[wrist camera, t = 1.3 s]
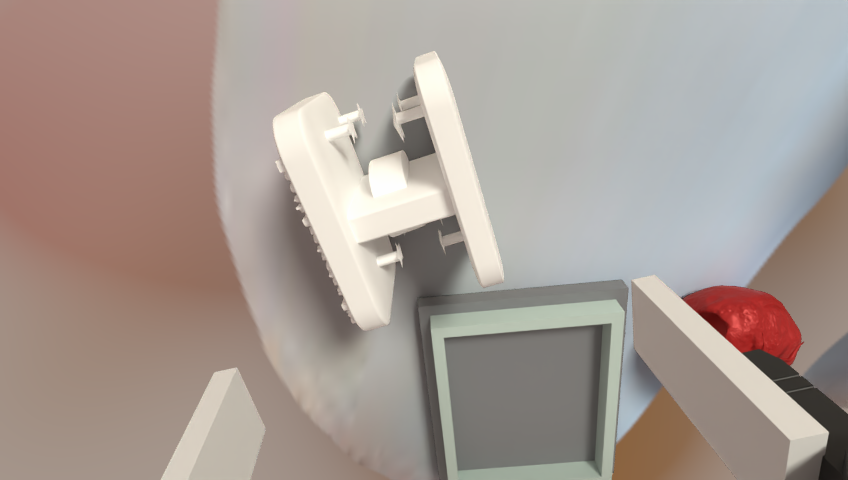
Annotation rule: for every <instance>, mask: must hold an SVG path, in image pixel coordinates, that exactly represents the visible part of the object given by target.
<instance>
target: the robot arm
mask: <svg viewBox="0 0 848 480" xmlns="http://www.w3.org/2000/svg"><path fill="white" fill-rule="evenodd" d="M631 283H632V310H633V337H634V349H635V350H636V352H637V353H638V354H639V355H640V357H641V358H642V359H643V361H644V362H645V363H646V364H647V366H648V367H649V368H650V369H651V371H652V372H653V373H654V375H655V376H656V377H657V378H658V380H659V381H660V382H661V383H662V385H663V386H664V387H665V389H666V390H667V391H668V392H669V394H670V395H671V396H672V397H673V399H674V400H675V401H676V402H677V404H678V405H679V406H680V408H681V409H682V410H683V411H684V413H685V414H686V415H687V416H688V418H689V419H690V420H691V422H692V423H693V424H694V425H695V427H696V428H697V429H698V431H699V432H700V433H701V434H702V436H703V437H704V438H705V439H706V441H707V442H708V443H709V445H710V446H711V447H712V448H713V450H714V451H715V452H716V453H717V454H718V456H719V457H720V459H721V460H722V461H723V462H724V463H725V465H726V466H727V467H728V469H729V470H730V471H731V472H732V474H733V475H734V476H735V478H736V479H737V480H848V414H847V413H846V412H845V411H844V410H842V409H841V408H840V407H839V406H838V405H836V404H835V403H834V402H833V401H831V400H830V399H829V398H828V397H827V396H825V395H824V394H823V393H822V392H821V391H819V390H818V389H817V388H814V387H813V385H812V384H811V383H810V382H808V381H807V380H806V379H805V378H804V377H802V376H801V377H800V376H799V373H798V372H796V371H795V370H794V369H793V368H791V367H790V366H789V365H788V364H787V363H785V362H784V361H783V360H782V359H780V358H778V357H775V356H773V355H771V354H769V353H767V352H765V351H763V350H761V349H757V350H752V351H748V352H743V353H741V352H740V351H739V350H737V349H736V348H735V347H734V346H733V345H732V344H731V343H730V342H729V341H727V340H726V339H725V338H724V337H723V336H722V335H721V334H720V333H719V332H717V331H716V330H715V329H714V328H713V327H712V326H711V325H710V324H709V323H708V322H706V321H705V320H704V319H703V318H702V317H701V316H700V315H699V314H698V313H696V312H695V311H694V310H693V309H692V308H691V307H690V306H689V305H688V304H686V303H685V302H684V301H683V300H682V299H681V298H680V297H679V296H678V295H676V294H675V293H674V292H673V291H672V290H671V289H670V288H669V287H668V286H667V285H665V284H664V283H663V282H662V281H661V280H660V279H659V278H658V277H657V276H655V275H652V276H647V277H643V278H638V279H634V280H631ZM265 430H266V429H265V426H264V424H263V422H262V420H261V418H260V416H259V414H258V411H257V410H256V407H255V405H254V403H253V401H252V398H251V397H250V394H249V392H248V390H247V388H246V386H245V383H244V381H243V379H242V377H241V375H240V373H239V370H238V368H232V369H228V370H223V371H219V372H215V373H214V374H213V376H212V378H211V380H210V382H209V384H208V386H207V388H206V390H205V393H204V395H203V396H202V398H201V401H200V402H199V405H198V406H197V408H196V410H195V412H194V414H193V416H192V419H191V421H190V422H189V424H188V426H187V428H186V430H185V432H184V435H183V436H182V438H181V440H180V442H179V444H178V446H177V448H176V450H175V452H174V454H173V456H172V458H171V461H170V462H169V464H168V467H167V468H166V470H165V472H164V474H163V476H162V479H161V480H251V477H252V473H253V470H254V467H255V463H256V460H257V457H258V453H259V450H260V447H261V443H262V440H263V436H264V433H265Z"/></svg>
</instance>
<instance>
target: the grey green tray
mask: <svg viewBox="0 0 848 480" xmlns="http://www.w3.org/2000/svg"><path fill="white" fill-rule="evenodd" d="M627 300H628V287H627V286H626V284H625V283H624V282H623V281H622V280H613V281H602V282H590V283H579V284H568V285H557V286H546V287H535V288H524V289H512V290H501V291H490V292H479V293H468V294H457V295H446V296H435V297H423V298H418V313H419V321H420V329H421V337H422V345H423V353H424V361H425V369H426V377H427V385H428V393H429V401H430V409H431V417H432V425H433V433H434V441H435V449H436V457H437V465H438V473H439V480H612V473H614V461H615V448H616V436H617V424H618V411H619V399H620V387H621V374H622V362H623V350H624V337H625V325H626V313H627Z"/></svg>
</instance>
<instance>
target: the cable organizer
mask: <svg viewBox="0 0 848 480" xmlns="http://www.w3.org/2000/svg"><path fill="white" fill-rule="evenodd" d="M413 71H414V79H415V84H416V89H417V93H418V95H416V96H414V97H411V98H408V99H405V100H402V101H401V100H400V99H399V97H398V95H397V100H398V106H399V108H400V110H401V112H399V113H396V111H395V109H394V106H393V104H392V108H393V120H394V126H395V128H396V130H397V131H398V133H399V135H400V137H401V138H402V140H403V142H404V138H403V136H404V137H405V135H404V133H403V130H402V127H401V124H403V123H406V122H409V121H412V120H415V119H418V118H421V117H425V120H426V123H427V126H428V129H429V132H430V135H431V139H432V142H433V145H434V148H435V151H436V153H434V154H430V155H427V156H424V157H421V158H418V159H415V160H412V161H409V160H408V157H407V155H406V153H405V152H404V151H403V150H401V151H398V152H395V153H392V154H389V155H386V156H383V157H380V158H377V159H374V160H371V161H370V163H369V174H368V175H365V176H364V173H363V171H362V168H361V165H360V163H359V160H358V158H357V155H356V153H355V150H354V147H353V145H352V142H351V140H350V137H349V135H351V134H352V137H353V140H354V143H355V137H356V138H358V137H357V134H356V132H355V129H354V124H353V122H356V121H359V120H362V123H363V126H364V122H365V123H366V120H365V117H364V114H363V110H362V109H360V107H359V106H358V104H357V106H358V110H357V111H354V112H351V113H348V114H346V115H343V116H341V114H340V112H339V110H338V108H337V106H336V104H335V103H334V101H333V99H332V98H331V97H330V95H329V94H328V93H326V92H323V93H320V94H317V95H314V96H311V97H308V98H306V99H303V100H302V101H300V102H299V103H297V104H295V105H294V106H292V107H290V108H289V109H287V110H285V111H284V112H282V113H280V114H279V115H277V116H275V118H274V119H273V135H274V140H275V143H276V147H277V150H278V153H279V156H280V158H281V159H280V160H277V161H275V162H276V165H277V167H278V169H279V171H280V173H281V172H284V176H285V178H286V180H288V181H289V180H290V181H291V183H290V189H291V191H292V192H293V193H296V194H297V195H296V196H294V198H295V199H294V202H295V201H296V202H297V203H298V202H300V203H299V204H298V206H297V207H296V210H299V209H300V211H301V212H302V213H303V212H305V214H306V215H305V216H304V218H303V220H302V221H303V223H304V225H305V227H309V226H310V228H309V230H310V232H311V235H313V234H314V235H313V239H314V242H315V243H319V246H317V248H318V250H317V252H320V253H321V252H322V254H321V256H322V259H323V260H327V261H326V268H327V270H328V271H329V278H330V277H331V278H333V283H334V285H335V286H336V285H338V289H337V292H338V294H339V296H340V295H343V297H344V298H343V302H342V305H341V306H342V308H343V310H344V311H346V310H347V313H348V316H349V317H350V318H351V322H352V324H354V323H357V325H358V326H359V327H360V328H361V329H362V330H364V331H368V330H372V329H375V328H379V327H382V326H386V325H388V324H389V322H390V316H391V307H392V298H393V289H394V280H395V271H396V264H395V262H398V261H400V262H401V265H402V259H403V255H402V252H401V248H400V245H399V244H398V246H397V244H396V243H395V244H396V248H397V251H395V252H393V250H392V246H391V243H390V240H389V238H388V235H390V236H391V237H395V236H398V235H401V234H403V233H404V235H405V233H406V232H409V231H412V230H415V229H417V228H420V227H423V226H425V224H426V223H430V222H433V221H436V220H440V221H441V223H442V220H441V219H443V218H446V217H450V216H453V215H456V217H457V220H458V223H459V226H460V230H461V231H459V232H455V233H452V234H449V235H445V236H442V235H441V231H440V232H439V230H438V232H439V240H440V243H441V245H442V248H443V250H444V252H445V248H444V247H445V246H448V245H452V244H455V243H458V242H462V241H464V242H465V245H466V248H467V252H468V255H469V258H470V261H471V264H472V267H473V269H474V272H475V274H476V277H477V279H478V281H479V283H480V285H481V286H482V287H483V288H485V287H488V286H492V285H495V284H499V283H503V282H504V272H503V267H502V262H501V258H500V254H499V250H498V246H497V243H496V240H495V236H494V233H493V229H492V226H491V222H490V219H489V215H488V212H487V208H486V205H485V201H484V198H483V195H482V191H481V188H480V184H479V181H478V177H477V174H476V170H475V167H474V163H473V160H472V156H471V153H470V150H469V146H468V143H467V139H466V136H465V132H464V129H463V125H462V122H461V118H460V115H459V112H458V108H457V105H456V101H455V98H454V94H453V91H452V88H451V85H450V82H449V79H448V77H447V74H446V72H445V69H444V67H443V65H442V63H441V61H440V59H439V57H438V56H437V54H436V52H435V51H433V52H430V53H427V54H424V55H421V56H418V57H416V58H415V63H414V68H413ZM396 94H397V93H396ZM418 105H420V106H418ZM415 106H417V107H415ZM412 107H414V108H412ZM409 108H411V109H409ZM406 109H408V110H406ZM403 110H405V111H403ZM442 225H443V224H442ZM445 254H446V253H445ZM402 268H403V266H402Z"/></svg>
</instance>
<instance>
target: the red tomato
mask: <svg viewBox="0 0 848 480" xmlns="http://www.w3.org/2000/svg"><path fill="white" fill-rule="evenodd" d="M682 300H683V301H684V302H685V303H686V304H688V305H689V306H690V307H691V308H692V309H693V310H694V311H695V312H696V313H698V314H699V315H700V316H701V317H702V318H703V319H704V320H705V321H706V322H708V323H709V324H710V325H711V326H712V327H713V328H714V329H715V330H716V331H717V332H719V333H720V334H721V335H722V336H723V337H724V338H725V339H726V340H727V341H729V342H730V343H731V344H732V345H733V346H734V347H735V348H736V349H737V350H739V351H740V352H741V353H743V352H748V351H752V350H757V349H761V350H763V351H765V352H767V353H769V354H771V355H773V356H775V357H778V358H780V359H782V360H783V361H784V362H785V363H787V364H788V365H789V366H790V365H791V364H792V363H793V361H794V360H795V357H796V354H797V351H798V350H799V348H800V346H801V345H802V344H803V343H804V342H802V343H801V333H800V331H799V329H798V327H797V326H796V324H795V322H794V321H793V319H792V318H791V316H790V314H789V313H788V312H787V310H786V309H785V307H784V306H783V304H782V303H781V302H780V301H778V300H777V299H776V298H775V297H773V296H772V295H770V294H768V293H765V292H762V291H757V290H753V289H748V288H744V287H737V286H723V285H721V286H713V287H709V288H706V289H703V290H700V291H698V292H695V293H693V294H690V295H688V296H686V297H685V298H683V299H682Z"/></svg>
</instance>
